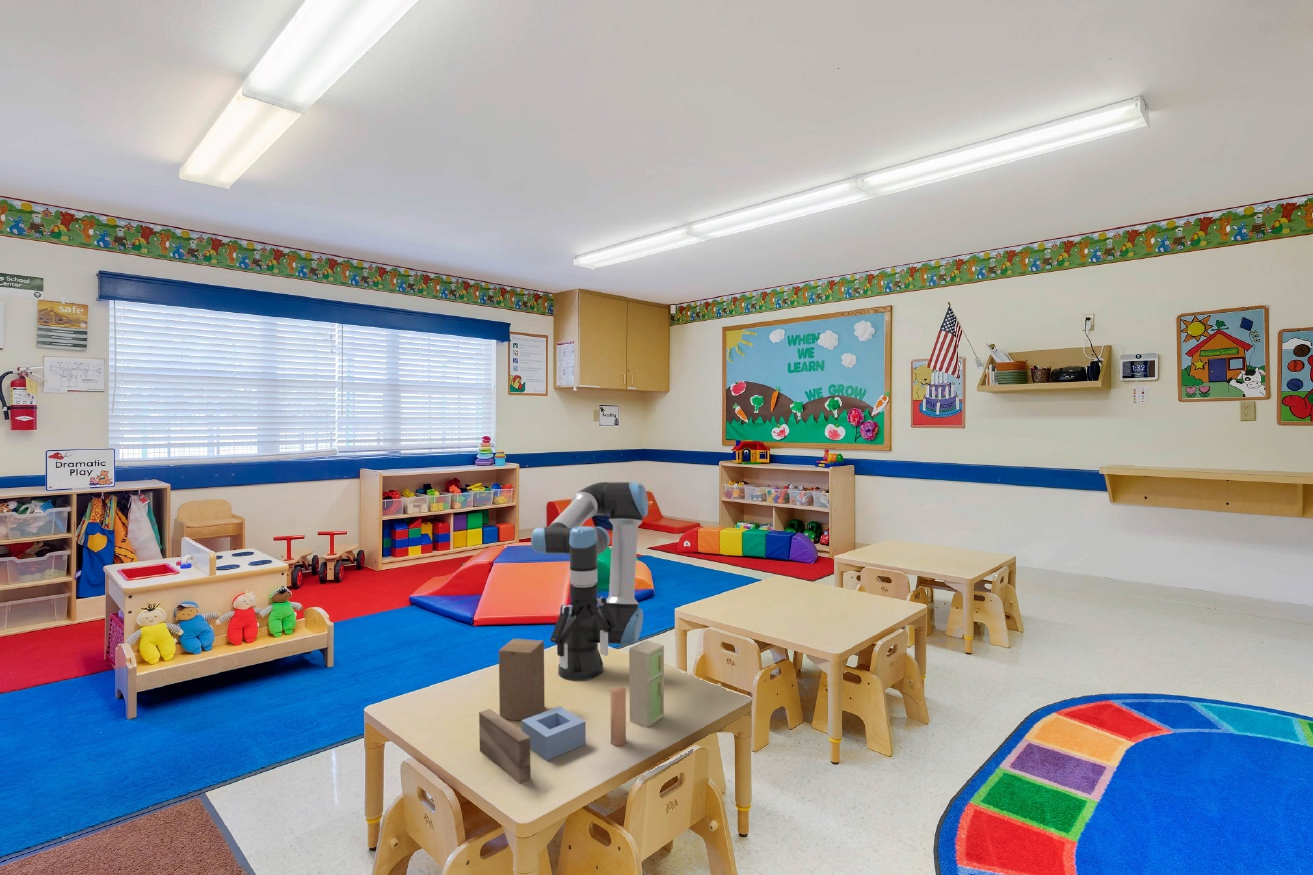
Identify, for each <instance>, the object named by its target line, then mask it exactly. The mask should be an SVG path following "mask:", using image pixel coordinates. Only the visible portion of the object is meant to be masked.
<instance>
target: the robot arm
mask: <svg viewBox="0 0 1313 875" xmlns="http://www.w3.org/2000/svg"><path fill="white" fill-rule="evenodd" d="M648 513H649V500H648V494H647V491H646V488H645V486H644V484H642V483H639V482H631V481H627V482H626V481H625V482H623V481H622V482H621V481H620V482H617V481H615V482H613V481H612V482H611V481H610V482H609V481H601V482H600V481H599V482H596V483H592V484H590V485H588V486H586V487H584V488H582V489H581V490H579V491H578V492H576V494H574V496H573V497H572V498H571V500H570V503H569V505H567V507H566V508H565V509H564V510H563V511H562V512H560V514H559V515H558V516H557V517H556V518H555V519H554V520H553V521H552V522H551V523H550V524H549V525H548V526H547V527H545V526H541V527H538V526H537V527H535V528H534V529H533V531H532V534H531V539H530V542H531V543H530V545H531V548H532V550H533V551H534V552H535V553H537V554H538V553H539V554H545V555H547V554H550V555H551V554H555V555H557V554H560V555H569V583H570V586H569V598H570V604H568V605H564V604H561V605H560V609H559V610H560V611H559V616H558V618H557V620H556V623H555V626H554V629H553V631H552V634H551V637H550V640H549V641H550V642H552V643H554V644H556V649H557V651H556V652H557V653H556V654H557V656H559V663H558V667H557V669H558V675H559V676H560V677H561V678H563V679H565V680H571V681H586V680H591V679H595V678H597V677H599V676H601V675H602V674H603V672H604V663H603V660H602V656H601V655H603V656H605V657H607V656H609V644H610V645H611V644H612V645H620V646H624V645H625V646H626V645H628V646H629V645H630V646H631V645H634V644H636V643H637V642H638V640H639V638H640V635H641V632H642V627H643V622H644V616H643V615H644V612H643V611H644V610H643V609H641V608H639V602H638V601H637V600H636V598H635V593H636V592H635V587H636V569H637V568H636V567H637V550H638V549H637V548H638V545H637V544H638V531H639V530H638V529H639V528H638V527H639V526H640V525H641V524H642V523H643V520H644V519H643V518H646V517H647V516H648ZM595 516H608V521H609V522H610V524H611V525H612V536H611V537H612V538H611V537H610V535H609V534H610V533H609V532H608V531H607V530H606V528H603V527H602V526H589V525H588V526H587V525H586V526H583V525H584V523H586V521H587V520H589V519H591V518H593V517H595ZM610 538H611V539H610ZM610 541H611V542H610ZM610 543H611V552H610V553H611V555H610V556H611V557H610V568H609V570H610V572H609V573H610V575H609V588H608V589H609V590H608V597H607V598H606V597H604V596H602V595H599V594H598V589H599V588H598V586H599V585H598V584H597V583H598V581H599V580H598V574H599V573H598V555H600V554H602V553H604V552H605V550H607V548H608V547H609V545H610Z"/></svg>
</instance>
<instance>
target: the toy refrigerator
mask: <svg viewBox="0 0 1313 875" xmlns="http://www.w3.org/2000/svg"><path fill="white" fill-rule="evenodd" d="M628 654H629V655H628V658H629V660H628V661H629V663H628V664H629V671H628V672H629V674H628V675H629V721H630V722H632V723H635V724H637V725H639V726H643V727H645V728H649V727H650V726H652V725H653V724H655V723H657V722H658V721H661V719H663V718H664V717H665V645H664V644H661V643H657V642H653V641H649V640H644V641H642V642H639V643H637V644H636V645H633V646H631V647H629V651H628Z"/></svg>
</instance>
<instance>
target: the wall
mask: <svg viewBox="0 0 1313 875" xmlns="http://www.w3.org/2000/svg"><path fill="white" fill-rule="evenodd" d="M478 719H479V720H478V722H479V724H478V725H479V728H478V729H479V731H478V732H479V733H478V734H479V751H480V752H481V753H482V754H483V755H484V756H486V757H487V758H488V759H489V760H490V761H491V762H493V763H494V764H495V765H496V766H497V767H499V768H500V770H502V771H503V772H505V773H506V774H507V775H509V777H511V778H512V779H513V780H514V781H515V782H517V783H518V784H521V783H523V782H526V781H529V780H531V778H532V777H531V775H532V774H531V749H530V737H529V736H528V735H526V734H525V733H524V732H522V729H519V727H516V726H515V725H514V724H512V723H511V722H509V721H508V719H504V718H502V717H501V716H500V714H498V713H496V712H495V711H494V710H492V709H491V708H488V709H485V710H482V711H479V712H478Z"/></svg>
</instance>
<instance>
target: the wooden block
mask: <svg viewBox="0 0 1313 875" xmlns="http://www.w3.org/2000/svg"><path fill="white" fill-rule="evenodd" d="M498 676H499V677H498V686H499V688H498V689H499V690H498V691H499V692H498V693H499V716H501V717H502V718H504V719H505V720H507V721H508V720H509V721H510V720H511V721H521V722H522V720H524V719H527V718H529V717H532V716H535V715H537V714H540V713H541V712H542V710H543V709H544V708H545V705H546V704H545V642H544V640H539V639H538V640H536V639H527V638H526V639H524V638H512V639H511V640H510V641H509V642H507V643H505V645H503V646H502V647H501V648H500V649H499V651H498Z"/></svg>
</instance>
